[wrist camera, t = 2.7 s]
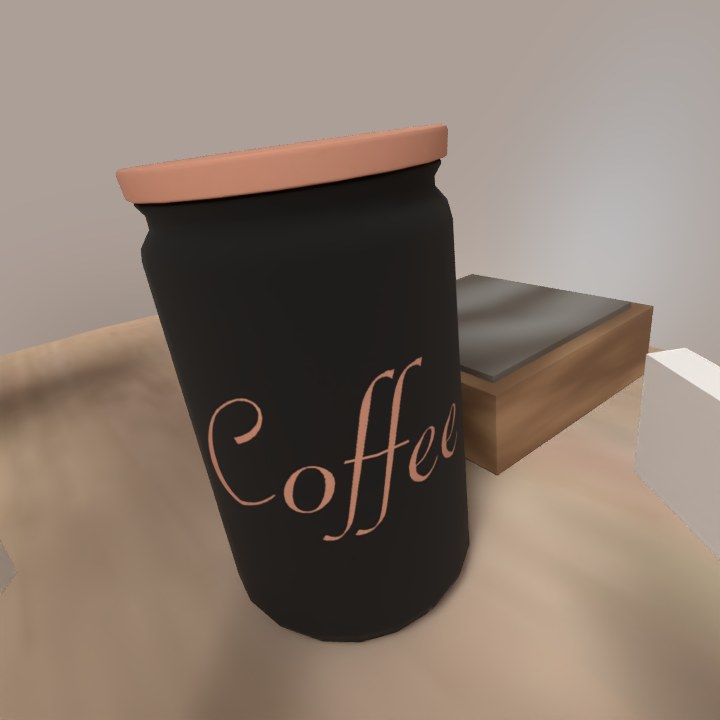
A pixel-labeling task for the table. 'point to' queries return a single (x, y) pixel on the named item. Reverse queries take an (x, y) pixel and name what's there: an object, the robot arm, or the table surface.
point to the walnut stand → (539, 362)
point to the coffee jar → (319, 368)
